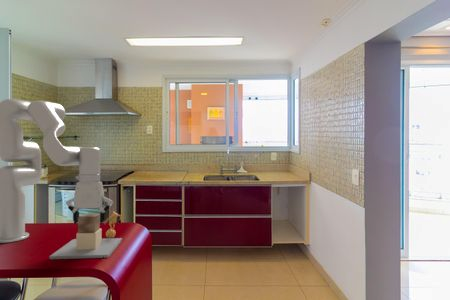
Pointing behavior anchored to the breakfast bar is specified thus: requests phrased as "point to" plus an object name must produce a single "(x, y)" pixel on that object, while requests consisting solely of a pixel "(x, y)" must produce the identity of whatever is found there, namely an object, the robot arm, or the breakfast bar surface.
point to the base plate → (87, 253)
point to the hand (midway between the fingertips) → (89, 222)
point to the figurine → (111, 232)
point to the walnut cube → (88, 223)
